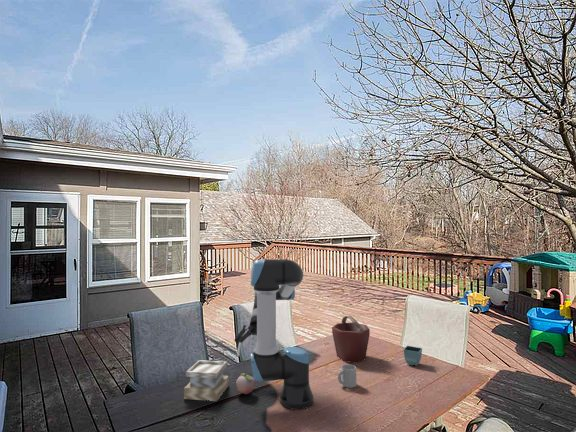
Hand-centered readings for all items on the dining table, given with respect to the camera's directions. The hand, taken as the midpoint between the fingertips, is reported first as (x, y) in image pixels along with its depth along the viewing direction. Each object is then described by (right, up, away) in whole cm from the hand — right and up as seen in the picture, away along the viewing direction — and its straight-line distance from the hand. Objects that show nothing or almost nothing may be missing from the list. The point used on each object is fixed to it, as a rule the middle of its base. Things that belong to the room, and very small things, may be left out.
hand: (250, 355), depth 175 cm
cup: (+49, -14, -2) cm, 51 cm away
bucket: (+57, -17, +37) cm, 71 cm away
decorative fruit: (-1, -14, -11) cm, 18 cm away
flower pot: (+92, -16, +26) cm, 97 cm away
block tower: (-20, -14, -8) cm, 26 cm away
